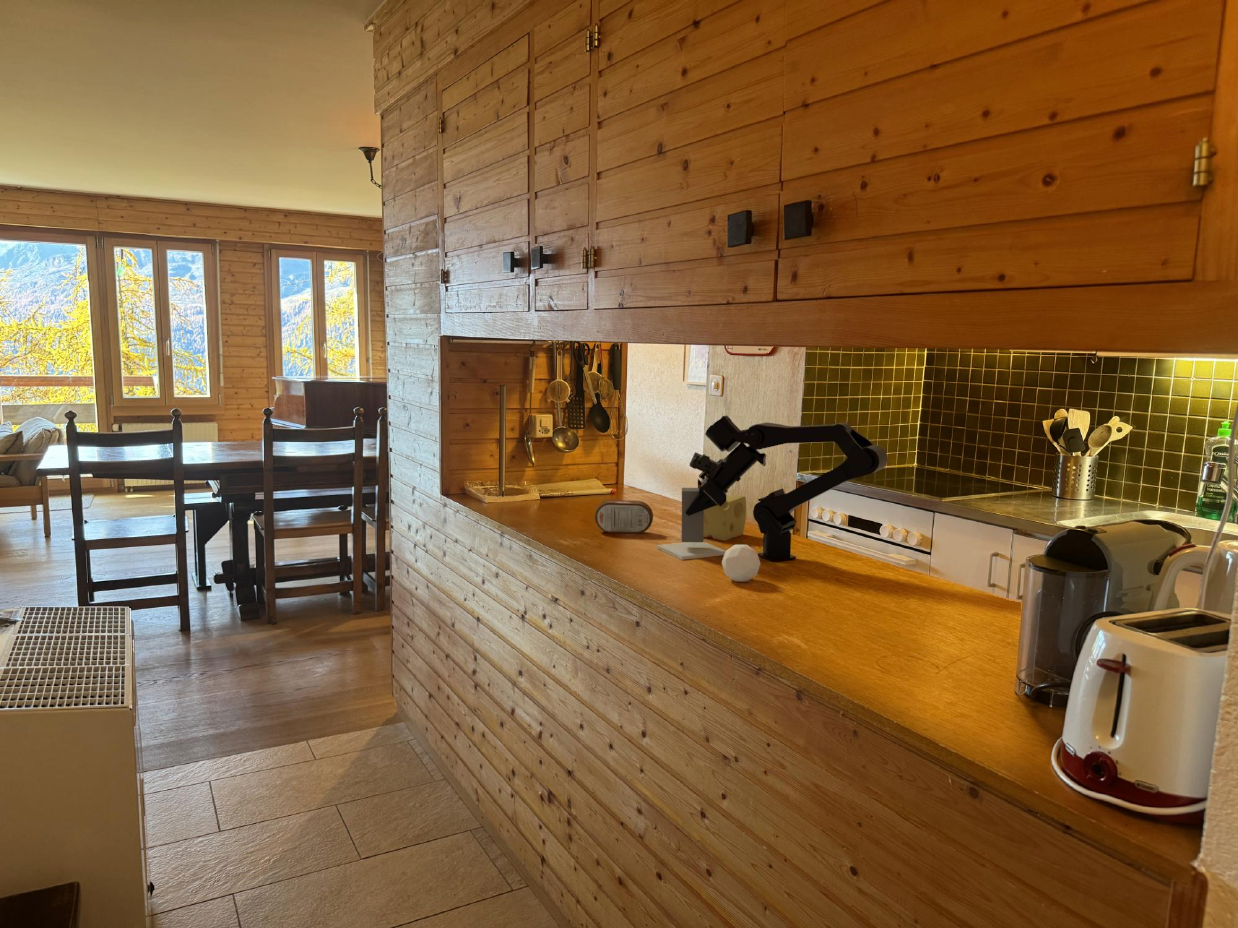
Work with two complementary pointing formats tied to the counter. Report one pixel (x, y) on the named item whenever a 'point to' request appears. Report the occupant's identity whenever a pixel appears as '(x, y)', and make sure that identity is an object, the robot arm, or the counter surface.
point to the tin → (623, 516)
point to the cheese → (726, 519)
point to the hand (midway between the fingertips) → (686, 512)
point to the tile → (691, 550)
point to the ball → (741, 563)
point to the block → (691, 517)
